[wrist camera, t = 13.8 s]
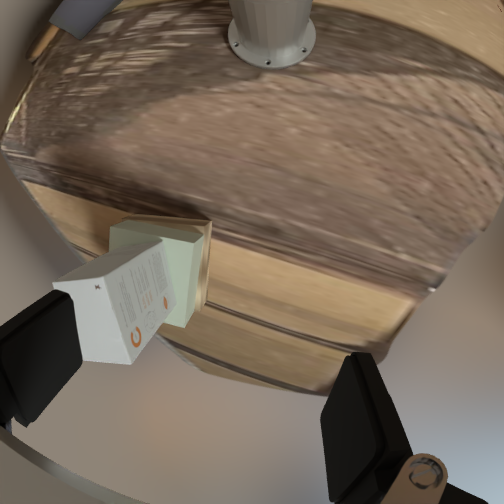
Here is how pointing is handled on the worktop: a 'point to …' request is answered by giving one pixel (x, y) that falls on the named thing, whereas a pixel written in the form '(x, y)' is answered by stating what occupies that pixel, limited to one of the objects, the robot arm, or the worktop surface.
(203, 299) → the tower base
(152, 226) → the tower top
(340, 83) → the worktop surface
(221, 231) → the worktop surface
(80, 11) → the bluetooth speaker
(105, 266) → the small box
